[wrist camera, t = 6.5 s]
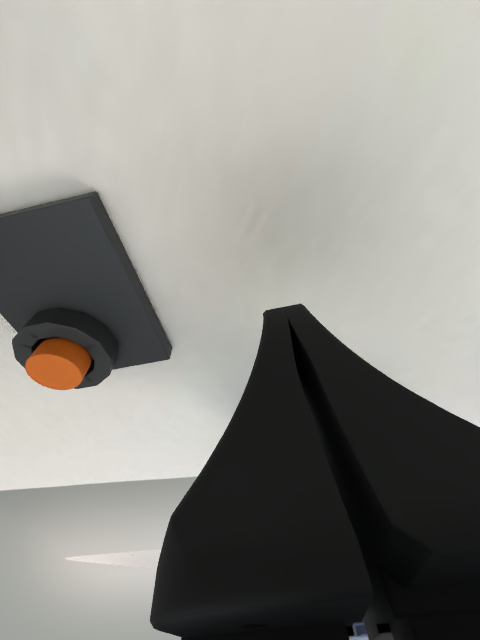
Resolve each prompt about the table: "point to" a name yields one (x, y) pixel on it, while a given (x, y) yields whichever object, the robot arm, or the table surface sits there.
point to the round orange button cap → (58, 364)
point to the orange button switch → (75, 287)
